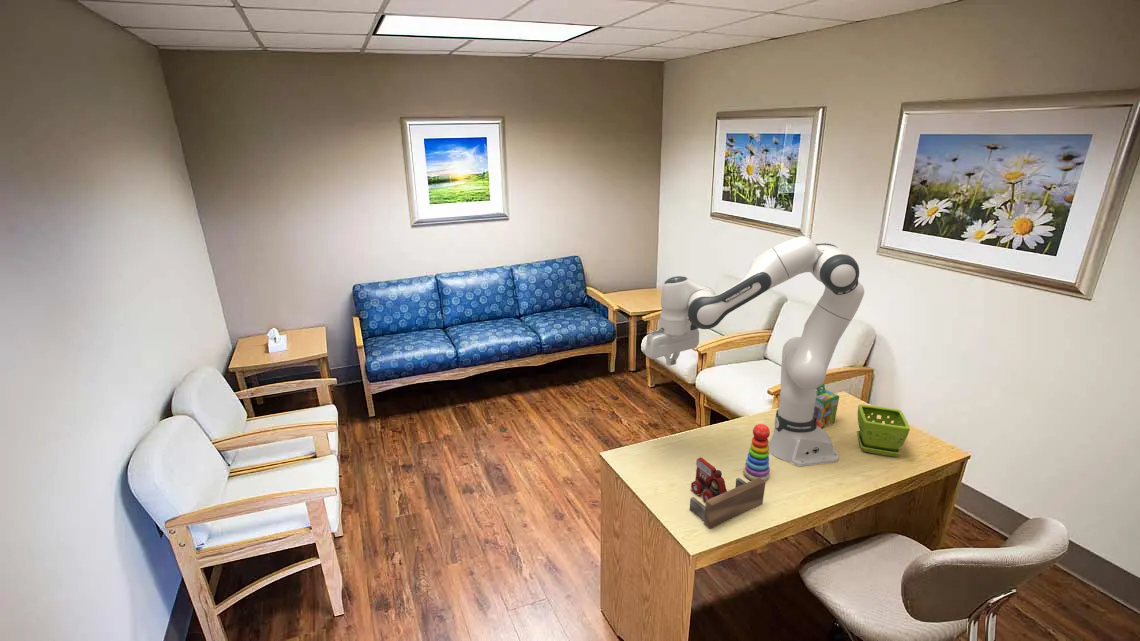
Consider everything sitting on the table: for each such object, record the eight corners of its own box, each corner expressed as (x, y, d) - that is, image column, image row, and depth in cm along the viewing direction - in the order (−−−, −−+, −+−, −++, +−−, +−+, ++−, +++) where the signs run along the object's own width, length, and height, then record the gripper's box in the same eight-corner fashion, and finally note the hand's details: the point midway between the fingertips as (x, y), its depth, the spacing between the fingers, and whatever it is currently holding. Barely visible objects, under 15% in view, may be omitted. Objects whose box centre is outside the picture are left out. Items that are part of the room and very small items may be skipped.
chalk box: (821, 429, 203) (827, 394, 198) (799, 419, 210) (804, 384, 205) (835, 422, 208) (842, 387, 203) (814, 412, 215) (819, 378, 210)
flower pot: (903, 461, 184) (911, 428, 179) (857, 454, 188) (863, 421, 184) (894, 440, 196) (901, 408, 192) (851, 433, 200) (857, 402, 196)
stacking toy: (740, 468, 181) (746, 417, 175) (764, 468, 181) (771, 418, 175) (746, 482, 174) (753, 431, 167) (772, 483, 173) (779, 431, 167)
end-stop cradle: (687, 510, 162) (689, 487, 159) (739, 487, 172) (741, 465, 169) (709, 529, 154) (712, 505, 151) (762, 504, 164) (765, 481, 161)
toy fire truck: (714, 511, 161) (717, 481, 158) (686, 487, 172) (689, 459, 168) (732, 503, 165) (735, 474, 161) (704, 481, 175) (706, 453, 171)
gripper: (654, 334, 172) (652, 375, 176) (703, 323, 181) (700, 361, 186) (641, 328, 177) (640, 367, 182) (690, 317, 186) (687, 355, 191)
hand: (671, 364), depth 184 cm, fingers closed
